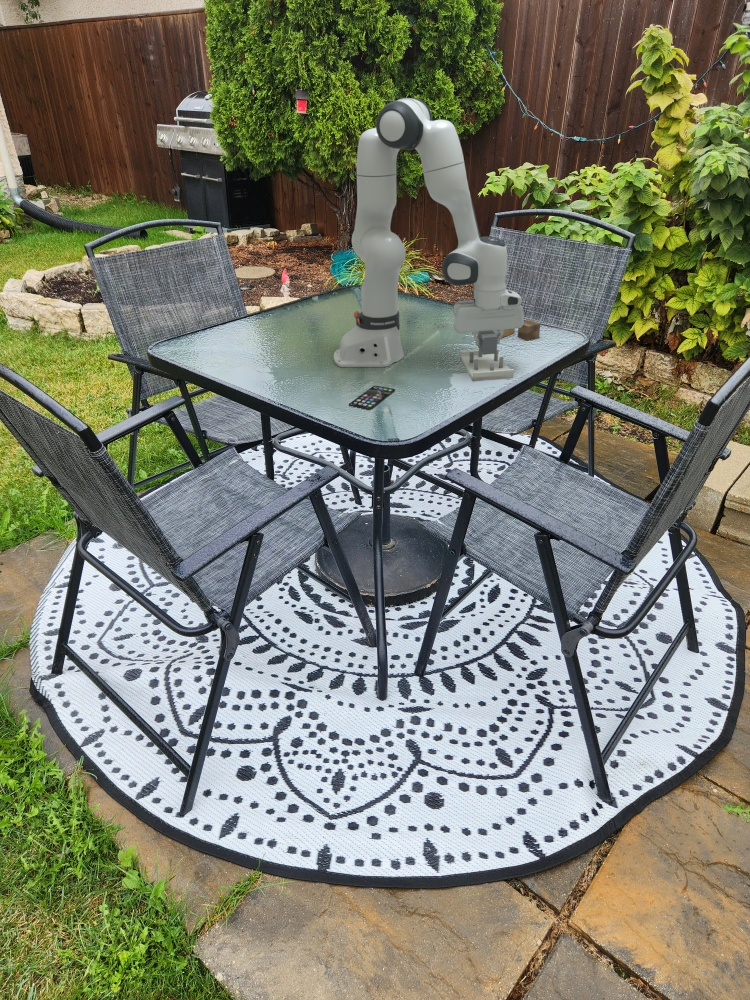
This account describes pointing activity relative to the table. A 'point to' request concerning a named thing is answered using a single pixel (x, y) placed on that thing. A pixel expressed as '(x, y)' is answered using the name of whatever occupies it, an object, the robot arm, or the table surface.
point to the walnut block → (529, 330)
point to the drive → (488, 342)
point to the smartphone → (372, 397)
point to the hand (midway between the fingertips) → (487, 344)
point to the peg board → (485, 365)
